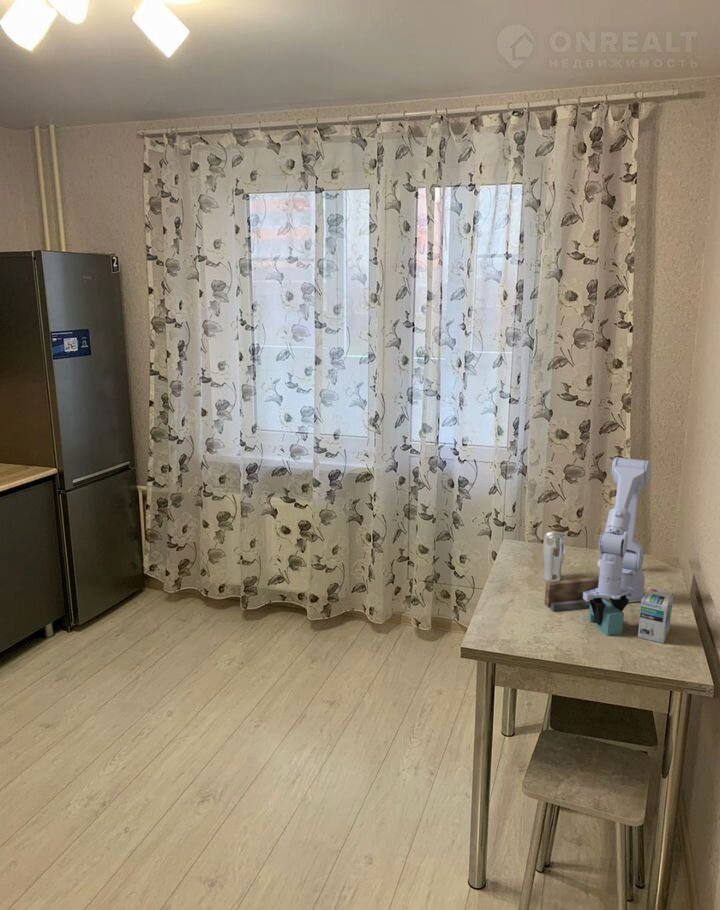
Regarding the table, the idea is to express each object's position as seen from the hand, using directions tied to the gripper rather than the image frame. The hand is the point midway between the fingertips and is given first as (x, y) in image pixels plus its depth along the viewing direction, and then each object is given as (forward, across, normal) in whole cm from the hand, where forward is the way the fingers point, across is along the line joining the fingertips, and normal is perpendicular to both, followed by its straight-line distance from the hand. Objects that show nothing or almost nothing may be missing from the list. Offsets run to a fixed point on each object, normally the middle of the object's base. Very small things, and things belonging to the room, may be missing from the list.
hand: (606, 622), depth 188 cm
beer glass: (+2, +3, +34) cm, 34 cm away
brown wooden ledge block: (+2, 0, +15) cm, 15 cm away
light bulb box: (+2, +11, -6) cm, 13 cm away
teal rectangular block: (+2, 0, 0) cm, 2 cm away
